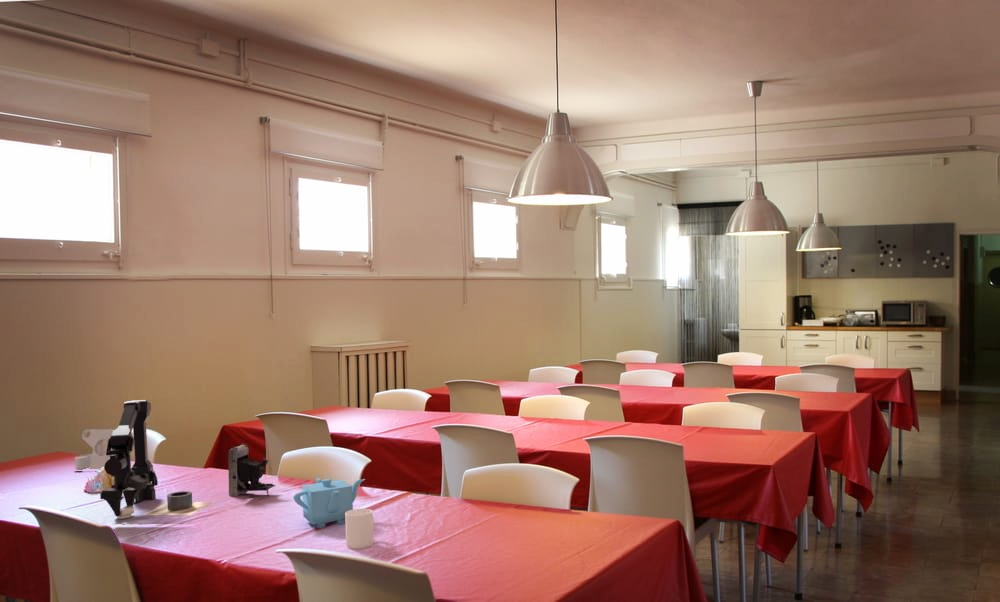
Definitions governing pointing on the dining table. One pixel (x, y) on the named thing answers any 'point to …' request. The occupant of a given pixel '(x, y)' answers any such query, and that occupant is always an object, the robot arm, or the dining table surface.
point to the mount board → (164, 510)
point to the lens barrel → (179, 500)
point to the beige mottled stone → (125, 512)
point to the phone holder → (94, 450)
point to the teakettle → (327, 500)
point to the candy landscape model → (99, 482)
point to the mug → (359, 528)
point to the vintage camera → (245, 472)
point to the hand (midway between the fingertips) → (124, 513)
